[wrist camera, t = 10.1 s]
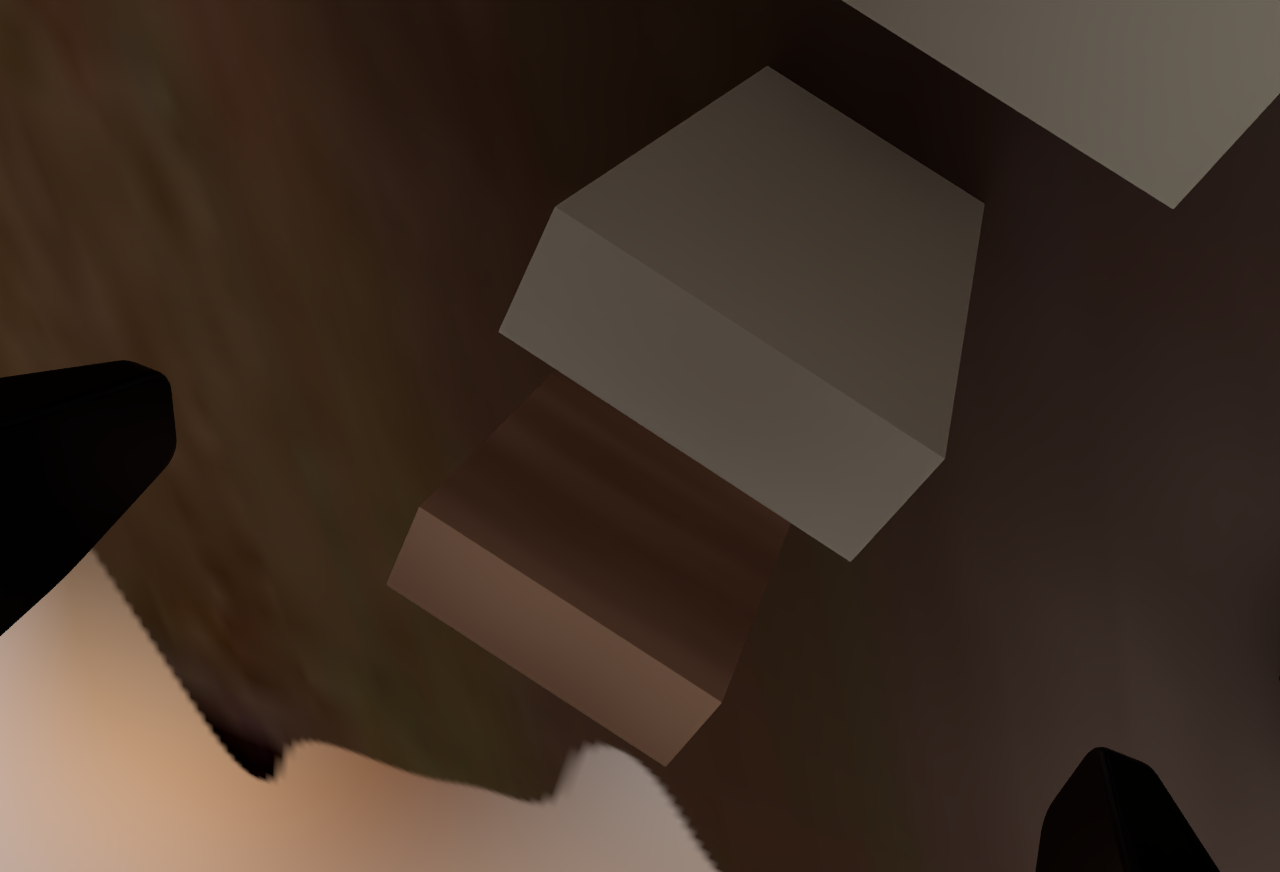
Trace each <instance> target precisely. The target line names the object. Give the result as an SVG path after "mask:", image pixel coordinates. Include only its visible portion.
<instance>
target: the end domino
mask: <svg viewBox="0 0 1280 872" xmlns="http://www.w3.org/2000/svg"><path fill="white" fill-rule="evenodd" d="M790 524H791V523H790V522H789V521H787V520H786V519H784V518H783V517H781V516H780V515H778V514H777V513H775V512H773V511H772V510H770V509H769V508H767V507H766V506H764V505H763V504H761V503H760V502H758V501H757V500H755V499H754V498H752V497H751V496H749V495H747V494H746V493H744V492H743V491H741V490H740V489H738V488H737V487H735V486H734V485H732V484H731V483H729V482H728V481H726V480H725V479H723V478H721V477H720V476H718V475H717V474H715V473H714V472H712V471H711V470H709V469H708V468H706V467H705V466H703V465H702V464H700V463H698V462H697V461H695V460H694V459H692V458H691V457H689V456H688V455H686V454H685V453H683V452H682V451H680V450H679V449H677V448H676V447H674V446H672V445H671V444H669V443H668V442H666V441H665V440H663V439H662V438H660V437H659V436H657V435H656V434H654V433H653V432H651V431H650V430H648V429H646V428H645V427H643V426H642V425H640V424H639V423H637V422H636V421H634V420H633V419H631V418H630V417H628V416H627V415H625V414H624V413H622V412H620V411H619V410H617V409H616V408H614V407H613V406H611V405H610V404H608V403H607V402H605V401H604V400H602V399H601V398H599V397H598V396H596V395H594V394H593V393H591V392H590V391H588V390H587V389H585V388H584V387H582V386H581V385H579V384H578V383H576V382H575V381H573V380H572V379H570V378H568V377H567V376H565V375H564V374H562V373H561V372H559V371H558V370H555V371H554V372H553V373H552V374H551V375H550V376H549V377H548V378H547V379H546V380H545V381H544V382H543V383H542V384H541V385H540V386H539V387H538V388H537V389H536V390H535V391H534V392H533V393H532V394H531V395H530V396H529V397H528V398H527V399H526V400H525V401H524V402H523V403H522V404H521V405H520V406H519V407H518V408H517V409H516V410H515V411H514V412H513V413H512V414H511V415H510V416H509V417H508V418H507V419H506V420H505V421H504V422H503V423H502V424H501V425H500V426H499V427H498V428H497V429H496V430H495V431H494V432H493V433H492V434H491V435H490V436H489V437H488V438H487V439H486V440H485V441H484V442H483V443H482V444H481V445H480V446H479V447H478V448H477V449H476V450H475V451H474V452H473V453H472V454H471V455H470V456H469V457H468V458H467V459H466V460H465V461H464V462H463V463H462V464H461V465H460V466H459V467H458V468H457V469H456V471H455V472H454V473H453V474H452V475H451V476H450V477H449V478H448V479H447V480H446V481H445V482H444V483H443V484H442V485H441V486H440V487H439V488H438V489H437V490H436V491H435V492H434V493H433V494H432V495H431V496H430V497H429V498H428V499H427V500H426V501H425V502H424V503H423V504H422V505H421V506H420V507H419V509H418V511H417V514H416V516H415V518H414V521H413V523H412V525H411V528H410V530H409V532H408V535H407V537H406V540H405V542H404V544H403V547H402V549H401V551H400V554H399V556H398V558H397V561H396V563H395V565H394V568H393V570H392V572H391V575H390V577H389V579H388V582H387V584H386V585H387V586H389V587H391V588H392V589H394V590H395V591H397V592H398V593H400V594H401V595H403V596H404V597H406V598H407V599H409V600H410V601H412V602H414V603H415V604H417V605H418V606H420V607H421V608H423V609H424V610H426V611H427V612H429V613H430V614H432V615H433V616H435V617H437V618H438V619H440V620H441V621H443V622H444V623H446V624H447V625H449V626H450V627H452V628H453V629H455V630H456V631H458V632H460V633H461V634H463V635H464V636H466V637H467V638H469V639H470V640H472V641H473V642H475V643H476V644H478V645H479V646H481V647H483V648H484V649H486V650H487V651H489V652H490V653H492V654H493V655H495V656H496V657H498V658H499V659H501V660H502V661H504V662H506V663H507V664H509V665H510V666H512V667H513V668H515V669H516V670H518V671H519V672H521V673H522V674H524V675H525V676H527V677H529V678H530V679H532V680H533V681H535V682H536V683H538V684H539V685H541V686H542V687H544V688H545V689H547V690H548V691H550V692H552V693H553V694H555V695H556V696H558V697H559V698H561V699H562V700H564V701H565V702H567V703H568V704H570V705H571V706H573V707H574V708H576V709H578V710H579V711H581V712H582V713H584V714H585V715H587V716H588V717H590V718H591V719H593V720H594V721H596V722H597V723H599V724H601V725H602V726H604V727H605V728H607V729H608V730H610V731H611V732H613V733H614V734H616V735H617V736H619V737H620V738H622V739H624V740H625V741H627V742H628V743H630V744H631V745H633V746H634V747H636V748H637V749H639V750H640V751H642V752H643V753H645V754H647V755H648V756H650V757H651V758H653V759H654V760H656V761H657V762H659V763H660V764H662V765H663V766H665V767H666V766H667V765H668V763H669V762H670V761H671V760H672V759H673V758H674V757H675V755H676V754H677V753H678V752H679V751H680V750H681V749H682V747H683V746H684V745H685V744H686V743H687V742H688V741H689V739H690V738H691V737H692V736H693V735H694V734H695V733H696V731H697V730H698V729H699V728H700V727H701V726H702V725H703V723H704V722H705V721H706V720H707V719H708V718H709V717H710V715H711V714H712V713H713V712H714V711H715V710H716V709H717V707H718V706H719V705H720V704H721V703H722V701H723V698H724V696H725V693H726V690H727V688H728V685H729V683H730V680H731V677H732V675H733V672H734V670H735V667H736V664H737V662H738V659H739V656H740V654H741V651H742V649H743V646H744V643H745V641H746V638H747V636H748V633H749V630H750V628H751V625H752V623H753V620H754V617H755V615H756V612H757V610H758V607H759V604H760V602H761V599H762V597H763V594H764V591H765V589H766V586H767V584H768V581H769V578H770V576H771V573H772V571H773V568H774V565H775V563H776V560H777V557H778V555H779V552H780V550H781V547H782V544H783V542H784V539H785V537H786V534H787V531H788V529H789V526H790Z"/></svg>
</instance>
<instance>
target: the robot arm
mask: <svg viewBox="0 0 1280 872" xmlns="http://www.w3.org/2000/svg"><path fill="white" fill-rule="evenodd" d="M175 449H176V430H175V420H174V411H173V401H172V392H171V386H170V383H169V381H168V380H167V378H166V376H164V375H163V374H162V373H160V372H158V371H156V370H153V369H151V368H148V367H146V366H143V365H141V364H138V363H136V362H132V361H126V360H121V361H113V362H106V363H99V364H92V365H85V366H78V367H71V368H64V369H57V370H50V371H44V372H37V373H30V374H23V375H16V376H9V377H2V378H0V636H1V635H2V634H3V633H4V632H5V631H7V630H8V629H9V628H10V627H11V626H12V625H13V624H14V623H15V622H17V620H19V619H20V618H21V617H22V616H23V615H24V614H25V613H26V612H27V611H29V610H30V609H31V608H32V607H33V606H34V605H35V604H36V603H38V602H39V601H40V600H41V599H42V598H43V597H44V596H45V595H46V594H47V593H48V592H50V591H51V590H52V589H53V588H54V587H55V586H56V585H57V584H58V583H59V582H60V581H61V580H62V579H63V578H64V577H65V576H66V575H67V574H68V573H69V572H70V571H71V570H72V569H73V568H74V567H75V566H76V565H77V564H78V563H79V561H81V560H82V559H83V558H84V557H85V555H86V554H87V553H88V552H89V551H90V550H91V549H92V548H93V547H94V546H95V544H96V543H97V542H98V541H99V540H100V539H101V538H102V537H103V536H104V535H105V533H106V532H107V531H108V530H109V529H110V528H111V527H112V526H113V525H114V524H115V523H116V521H117V520H118V519H119V518H120V517H121V516H122V515H123V514H124V513H125V512H126V510H127V509H128V508H129V507H130V506H131V505H132V504H133V503H134V502H135V501H136V499H137V498H138V497H139V496H140V495H141V494H142V493H143V492H144V491H145V490H146V489H147V487H148V486H149V485H150V484H151V483H152V482H153V481H154V480H155V479H156V478H157V476H158V475H159V474H160V473H161V472H162V471H163V470H164V469H165V468H166V466H167V465H168V464H169V462H170V461H171V459H172V457H173V455H174V452H175ZM1279 680H1280V677H1279ZM1036 872H1220V871H1219V869H1218V868H1217V866H1216V865H1215V863H1214V862H1213V860H1212V859H1211V857H1210V856H1209V854H1208V852H1207V851H1206V849H1205V848H1204V846H1203V845H1202V843H1201V842H1200V840H1199V839H1198V837H1197V836H1196V834H1195V832H1194V831H1193V829H1192V828H1191V826H1190V825H1189V823H1188V822H1187V820H1186V819H1185V817H1184V815H1183V814H1182V812H1181V811H1180V809H1179V808H1178V806H1177V805H1176V803H1175V802H1174V800H1173V799H1172V797H1171V795H1170V794H1169V792H1168V791H1167V789H1166V788H1165V786H1164V785H1163V783H1162V782H1161V780H1160V778H1159V777H1158V775H1157V774H1156V773H1155V772H1154V770H1153V769H1152V768H1151V767H1150V766H1148V765H1147V764H1145V763H1143V762H1141V761H1139V760H1136V759H1134V758H1131V757H1129V756H1126V755H1124V754H1121V753H1119V752H1116V751H1113V750H1111V749H1108V748H1105V747H1097V748H1094V749H1093V750H1091V751H1090V752H1089V753H1088V754H1087V755H1086V756H1085V757H1084V759H1083V760H1082V761H1081V763H1080V764H1079V766H1078V767H1077V768H1076V770H1075V771H1074V773H1073V774H1072V775H1071V777H1070V778H1069V779H1068V781H1067V782H1066V784H1065V785H1064V786H1063V788H1062V789H1061V791H1060V792H1059V793H1058V795H1057V796H1056V798H1055V799H1054V800H1053V802H1052V803H1051V805H1050V807H1049V809H1048V811H1047V813H1046V816H1045V819H1044V822H1043V826H1042V830H1041V836H1040V844H1039V851H1038V858H1037V865H1036Z"/></svg>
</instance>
